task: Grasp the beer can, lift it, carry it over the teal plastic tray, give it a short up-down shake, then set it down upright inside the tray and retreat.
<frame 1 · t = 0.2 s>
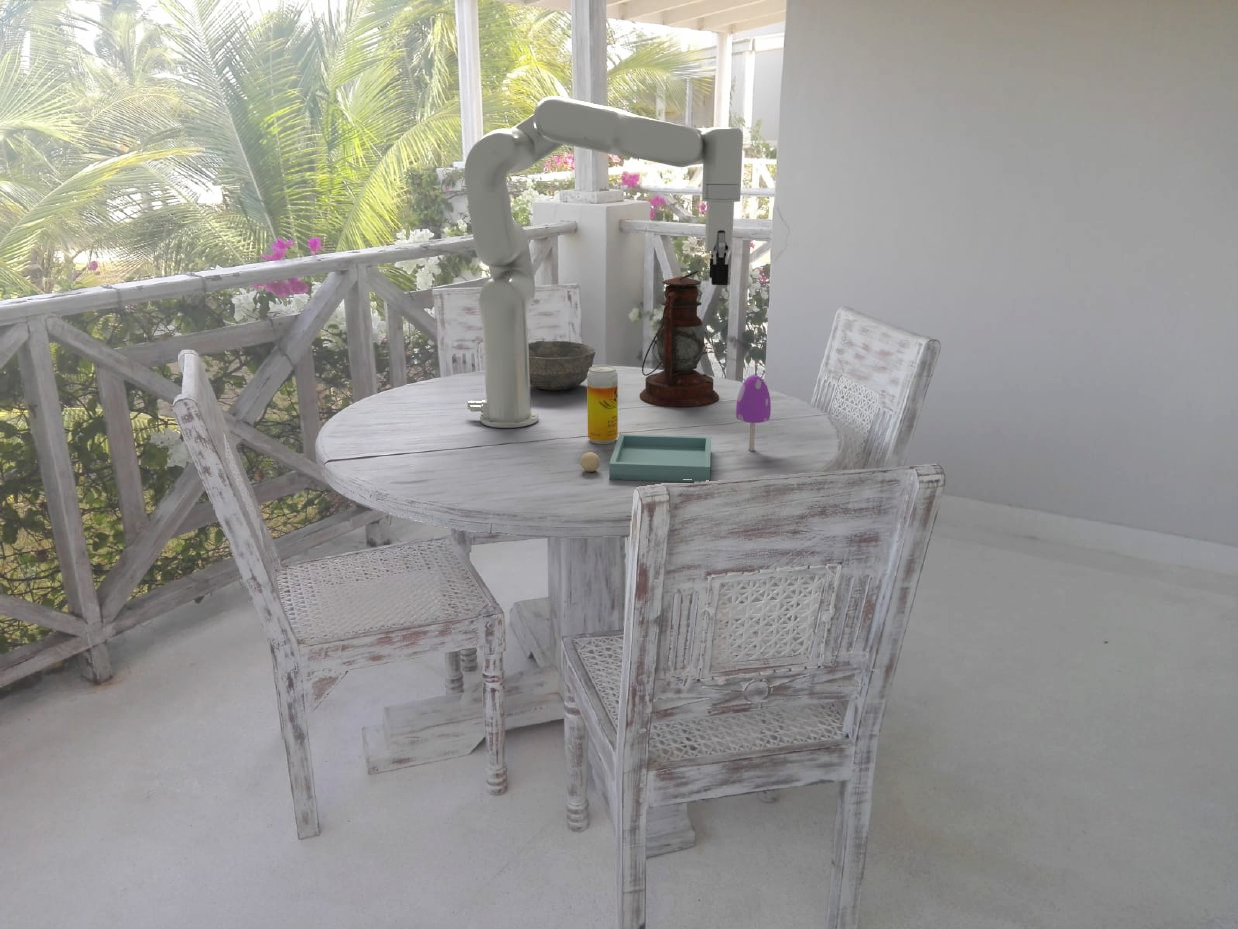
hand: (718, 281, 191), 31 cm above the table, fingers open, 9 cm apart
bowl: (554, 389, 232), on the table
tray: (662, 464, 178), on the table
beer can: (602, 441, 192), on the table
cork ball: (590, 471, 174), on the table
toy: (751, 450, 186), on the table
lantern: (679, 397, 225), on the table
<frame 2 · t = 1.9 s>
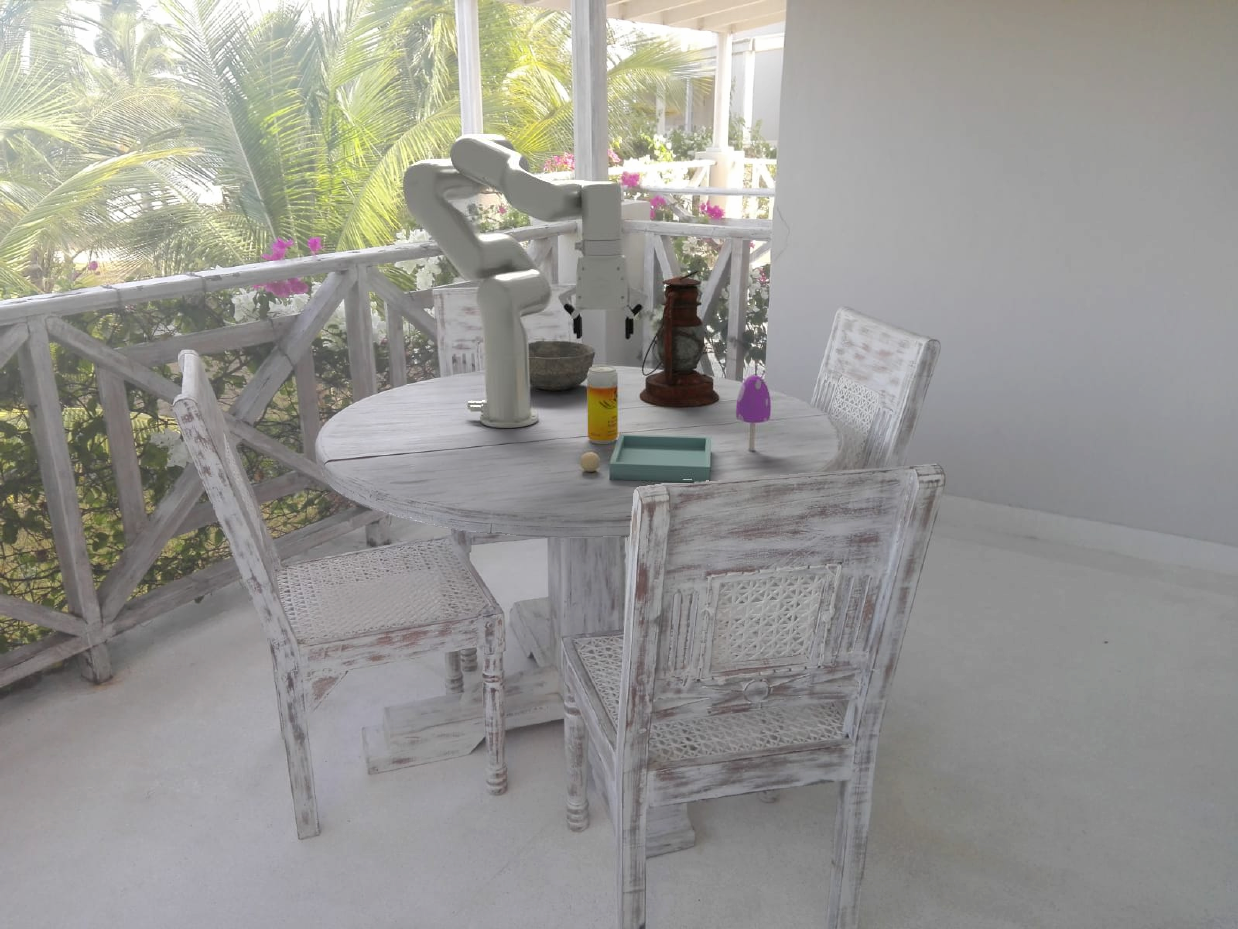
hand: (603, 337, 185), 21 cm above the table, fingers open, 9 cm apart
nothing on the table moved.
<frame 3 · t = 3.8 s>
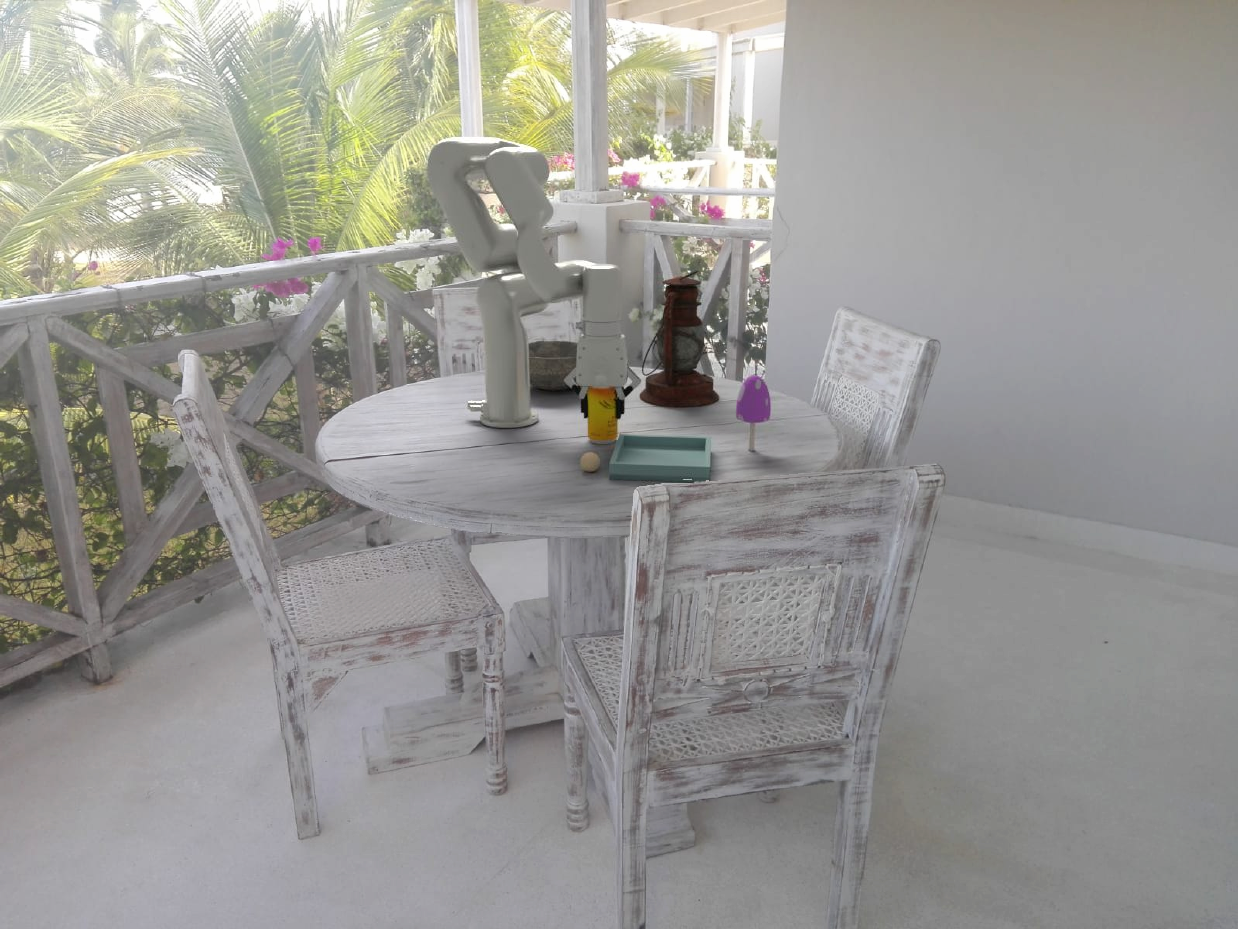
hand: (602, 416, 190), 5 cm above the table, fingers closed on beer can, 6 cm apart
beer can: (602, 441, 192), on the table, touching gripper
everything else where it was.
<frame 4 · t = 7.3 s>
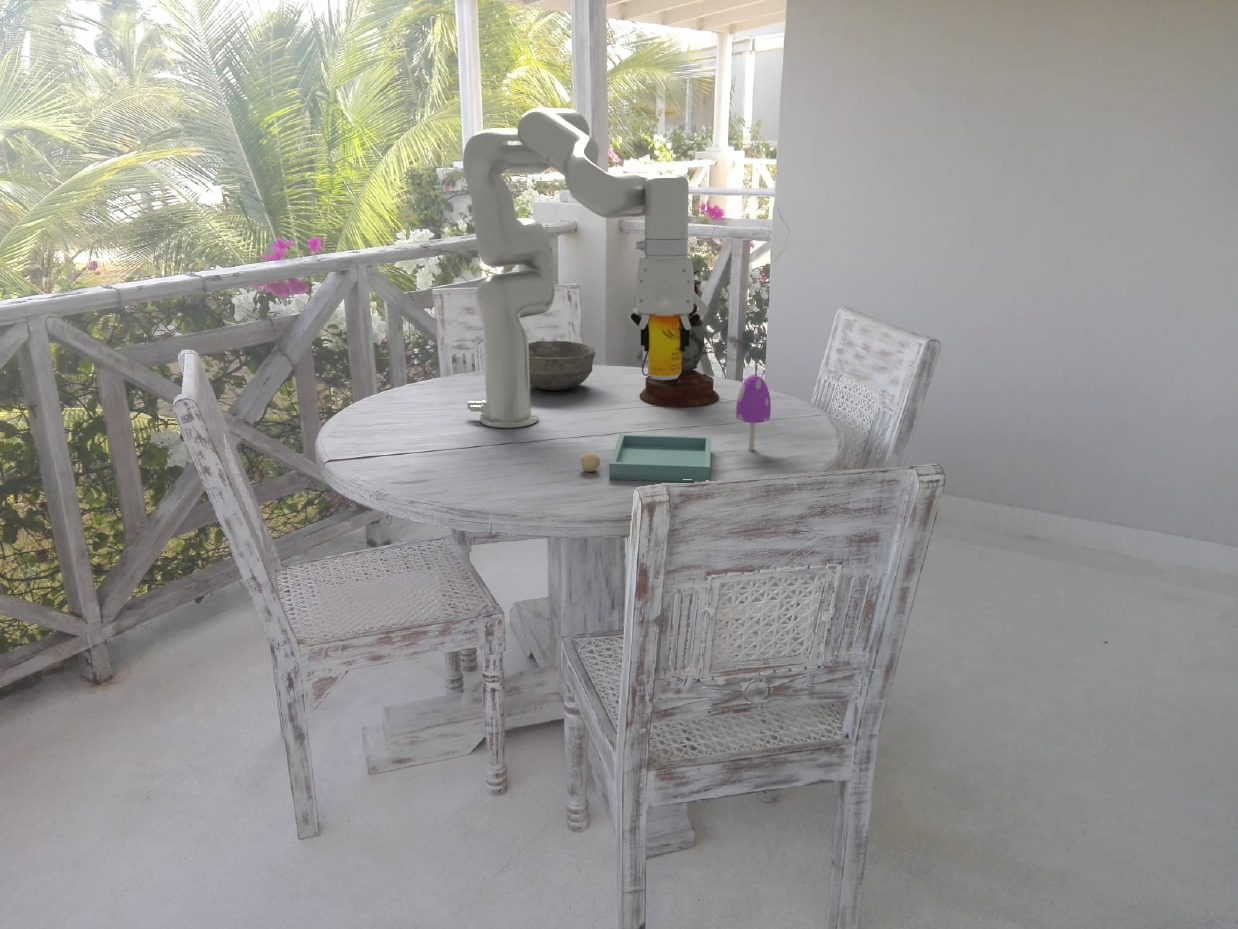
hand: (665, 349, 170), 22 cm above the table, fingers closed on beer can, 6 cm apart
beer can: (664, 377, 172), point 17 cm above the table, touching gripper
everything else where it was.
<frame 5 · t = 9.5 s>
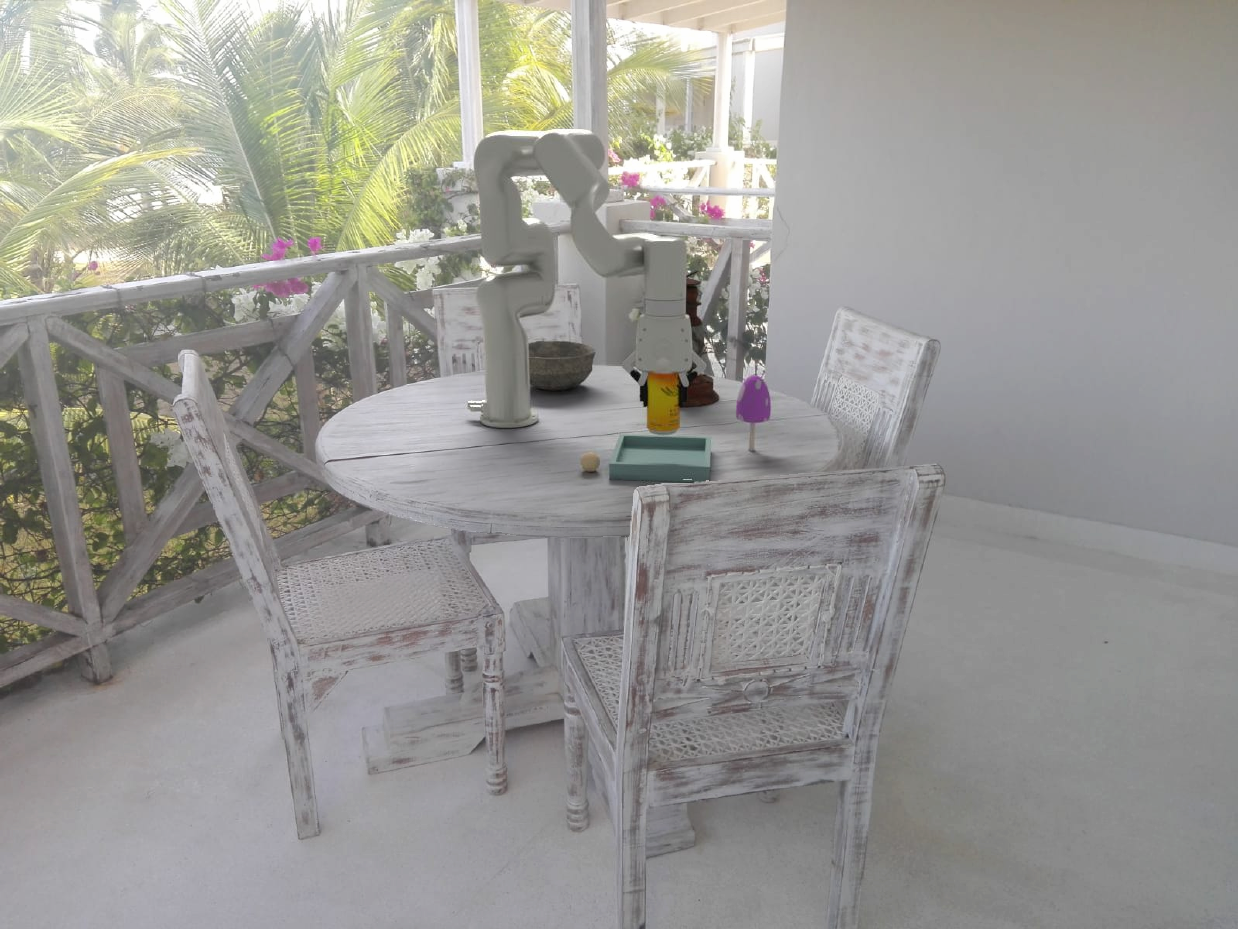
hand: (663, 404, 174), 12 cm above the table, fingers closed on beer can, 6 cm apart
beer can: (663, 432, 175), point 6 cm above the table, touching gripper
everything else where it was.
when the fingers open (6 cm above the table, at t = 11.1 s): beer can stays where it is, resting on tray.
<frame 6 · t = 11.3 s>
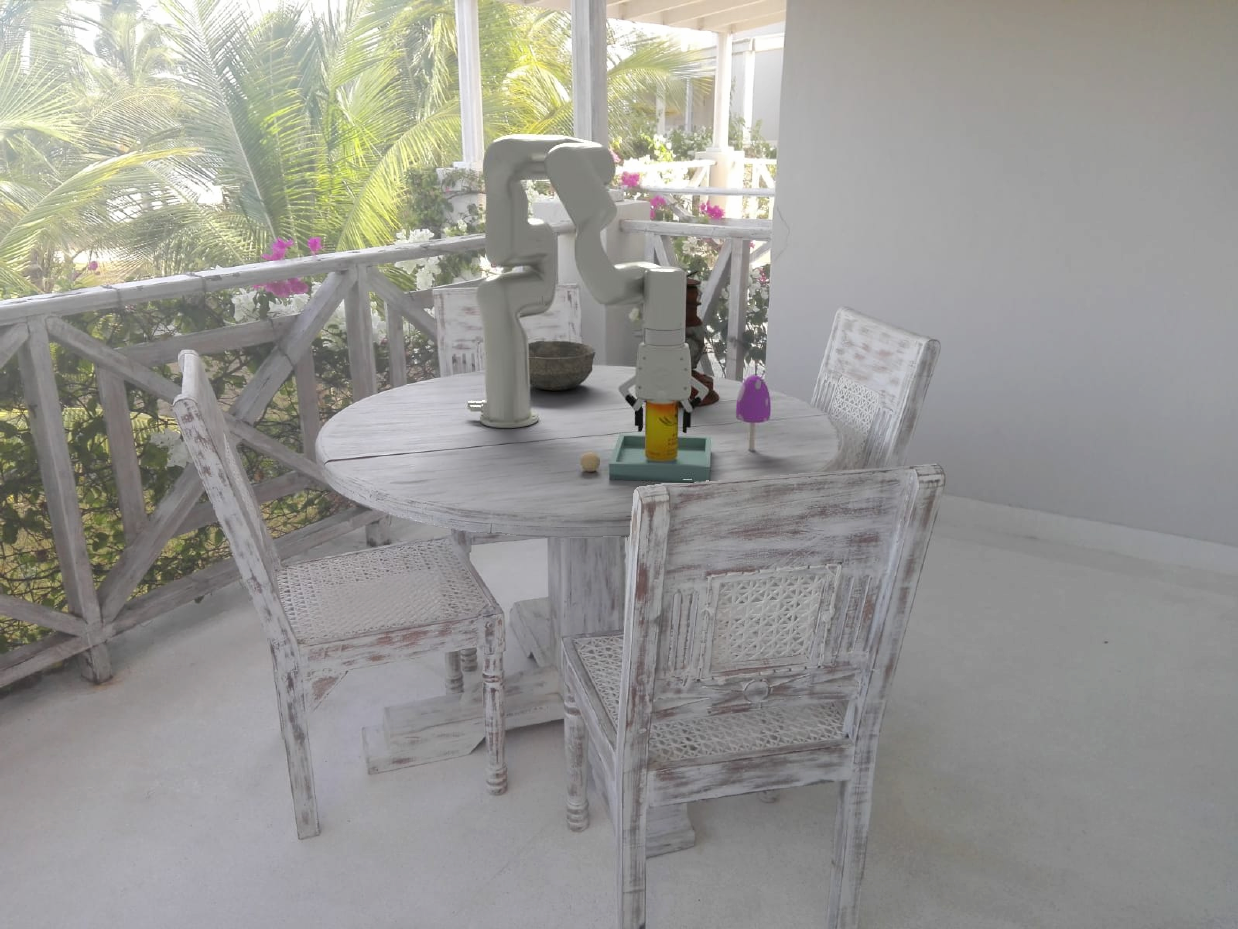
hand: (662, 429, 175), 7 cm above the table, fingers open, 7 cm apart
beer can: (661, 460, 177), point 1 cm above the table, touching tray
everything else where it was.
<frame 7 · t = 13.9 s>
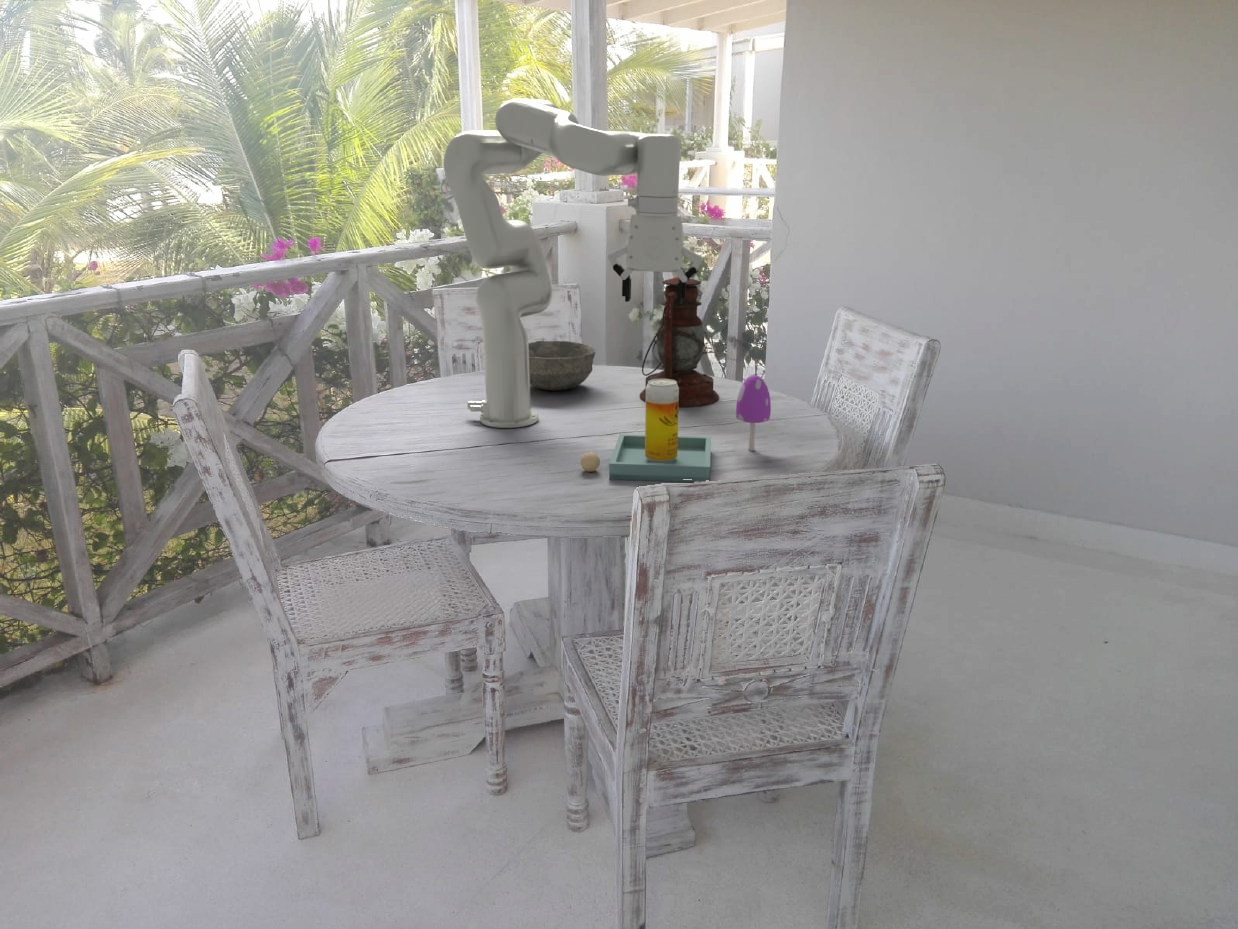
hand: (653, 301, 175), 30 cm above the table, fingers open, 9 cm apart
nothing on the table moved.
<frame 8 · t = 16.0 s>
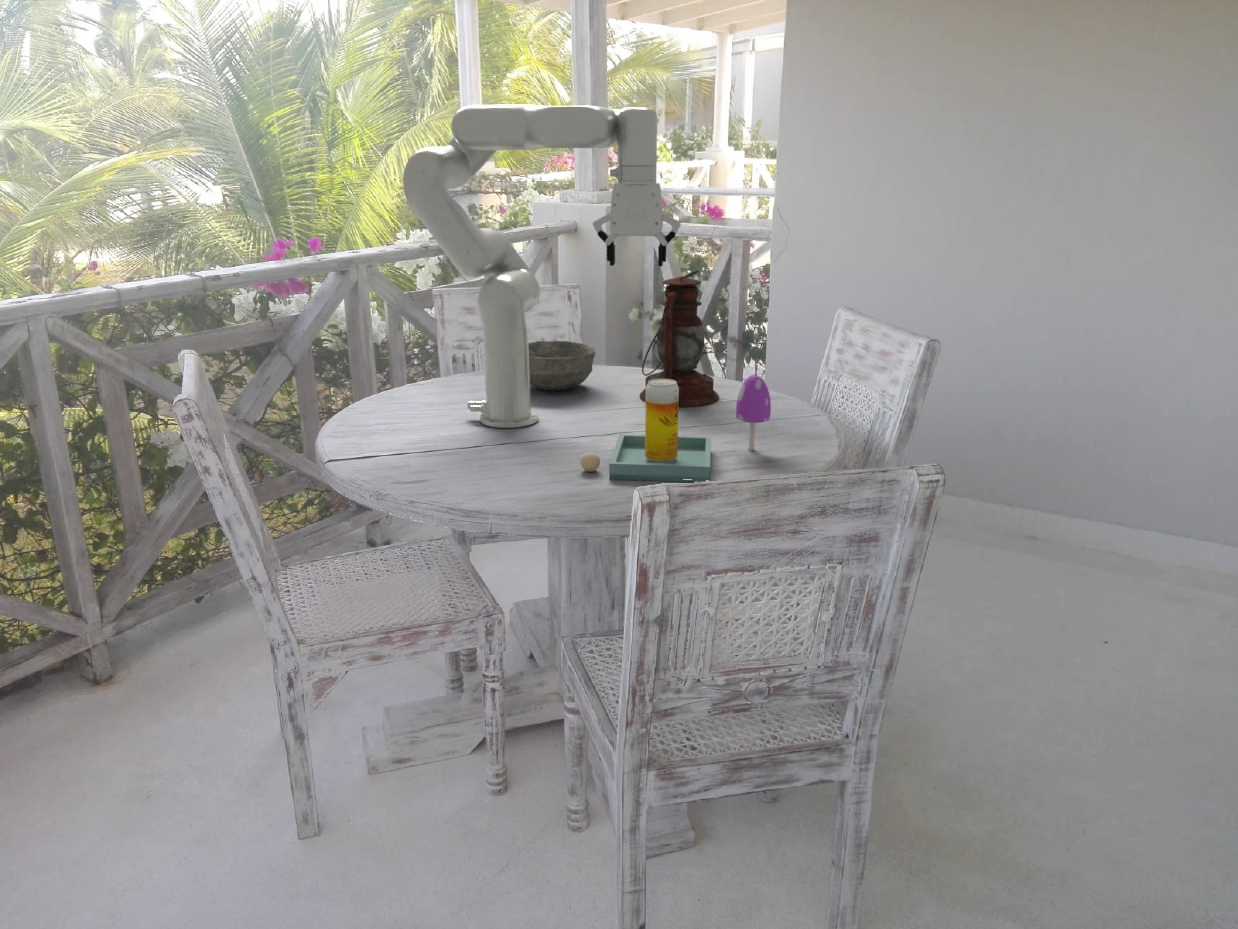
hand: (636, 265, 188), 34 cm above the table, fingers open, 9 cm apart
nothing on the table moved.
at the end: beer can inside the target area on the tray (0.2 cm from its centre), point 0.8 cm above the tray's base; beer can tilted 0°; the gripper is holding nothing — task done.
